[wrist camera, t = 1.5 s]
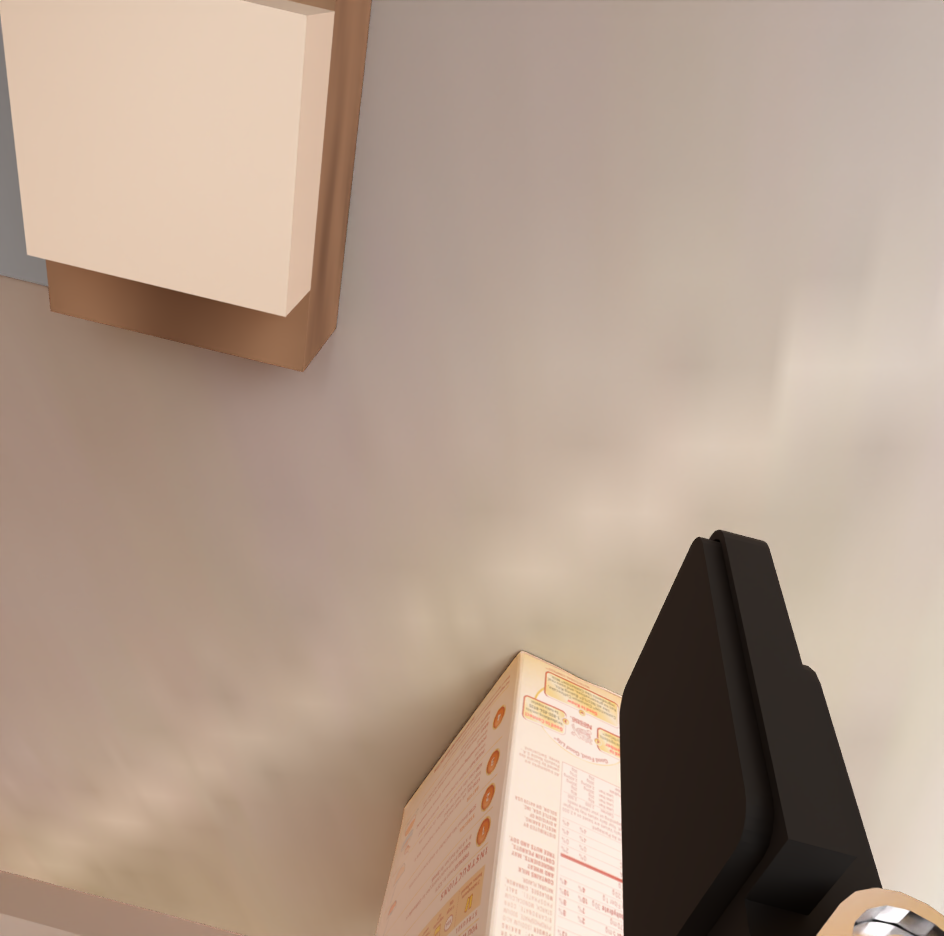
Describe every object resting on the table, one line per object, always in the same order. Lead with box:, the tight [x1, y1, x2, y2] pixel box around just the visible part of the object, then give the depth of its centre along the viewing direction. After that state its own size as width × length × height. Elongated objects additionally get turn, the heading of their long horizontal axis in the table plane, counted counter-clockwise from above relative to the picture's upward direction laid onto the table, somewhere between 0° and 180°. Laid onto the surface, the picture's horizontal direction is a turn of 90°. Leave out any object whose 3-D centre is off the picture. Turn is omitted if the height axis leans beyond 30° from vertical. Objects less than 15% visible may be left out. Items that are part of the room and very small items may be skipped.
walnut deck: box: [46, 0, 372, 372], centre depth 26 cm, size 9×14×4 cm, turn 169°
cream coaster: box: [0, 0, 335, 317], centre depth 23 cm, size 8×8×2 cm
